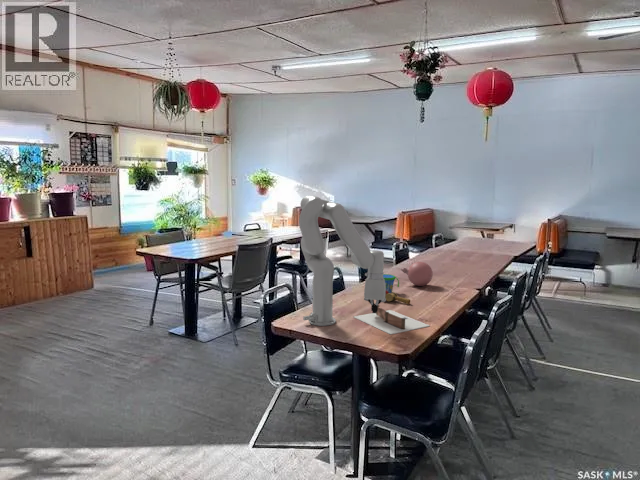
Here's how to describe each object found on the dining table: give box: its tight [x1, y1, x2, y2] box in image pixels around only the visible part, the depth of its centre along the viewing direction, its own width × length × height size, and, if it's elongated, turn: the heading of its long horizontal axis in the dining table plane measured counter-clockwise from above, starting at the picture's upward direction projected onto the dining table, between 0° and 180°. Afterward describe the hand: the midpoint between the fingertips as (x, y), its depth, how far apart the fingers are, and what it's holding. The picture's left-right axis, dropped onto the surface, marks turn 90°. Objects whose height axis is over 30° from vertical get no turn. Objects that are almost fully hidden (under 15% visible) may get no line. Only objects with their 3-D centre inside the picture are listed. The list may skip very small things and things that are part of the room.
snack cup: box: [383, 273, 400, 293], centre depth 280 cm, size 16×10×10 cm
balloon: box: [400, 261, 433, 287], centre depth 298 cm, size 15×20×15 cm
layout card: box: [353, 309, 430, 335], centre depth 226 cm, size 23×29×1 cm
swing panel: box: [376, 304, 387, 320], centre depth 230 cm, size 11×2×4 cm, turn 14°
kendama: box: [385, 291, 411, 305], centre depth 260 cm, size 8×6×18 cm
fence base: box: [385, 312, 405, 329], centre depth 219 cm, size 2×13×5 cm, turn 30°
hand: (374, 312), depth 232 cm, fingers closed
